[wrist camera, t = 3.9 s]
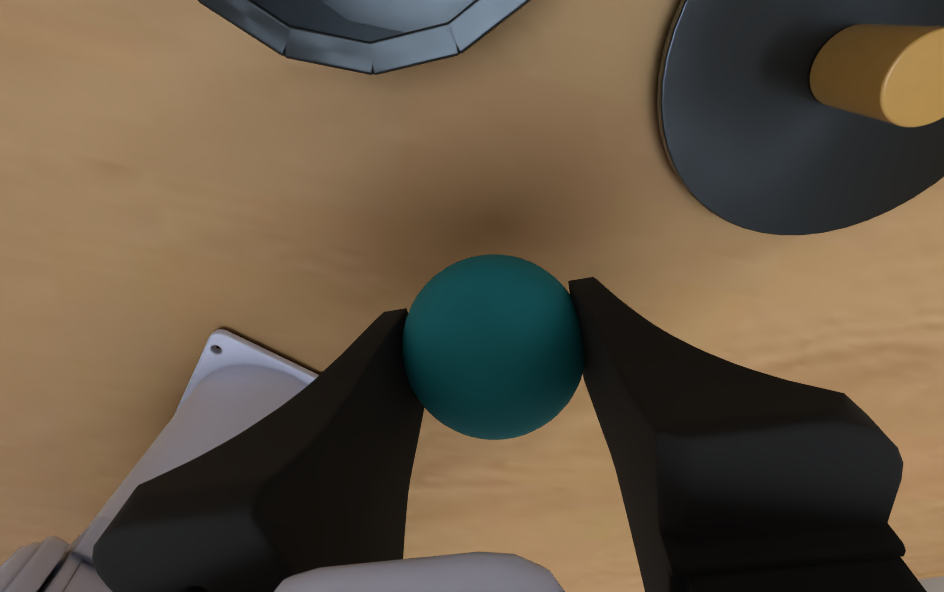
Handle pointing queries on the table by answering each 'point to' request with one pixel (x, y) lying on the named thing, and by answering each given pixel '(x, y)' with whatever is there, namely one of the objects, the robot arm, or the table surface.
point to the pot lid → (804, 108)
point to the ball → (493, 347)
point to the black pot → (366, 29)
